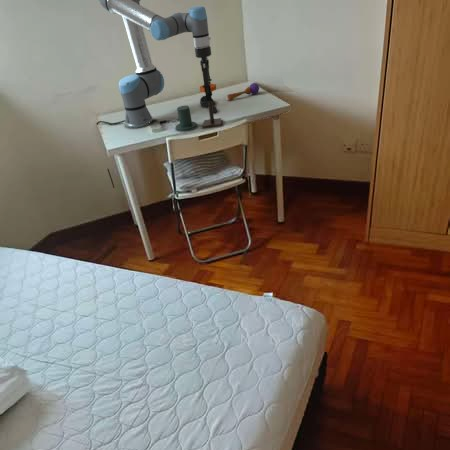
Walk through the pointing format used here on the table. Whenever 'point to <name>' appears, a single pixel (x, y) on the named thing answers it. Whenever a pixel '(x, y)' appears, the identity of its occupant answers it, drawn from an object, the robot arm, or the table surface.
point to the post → (211, 118)
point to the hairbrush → (205, 103)
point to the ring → (212, 87)
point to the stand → (185, 119)
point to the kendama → (252, 89)
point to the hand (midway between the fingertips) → (209, 98)
